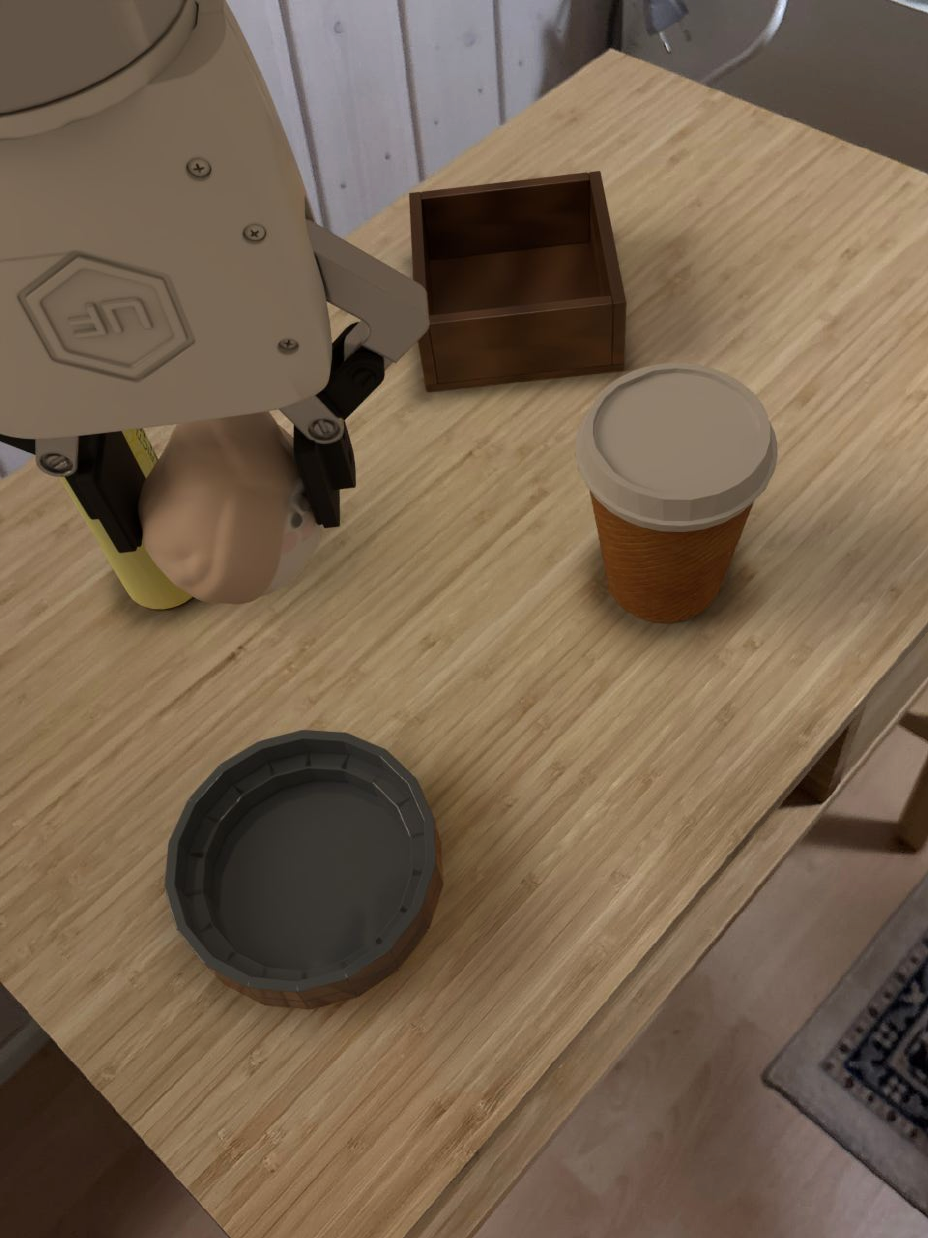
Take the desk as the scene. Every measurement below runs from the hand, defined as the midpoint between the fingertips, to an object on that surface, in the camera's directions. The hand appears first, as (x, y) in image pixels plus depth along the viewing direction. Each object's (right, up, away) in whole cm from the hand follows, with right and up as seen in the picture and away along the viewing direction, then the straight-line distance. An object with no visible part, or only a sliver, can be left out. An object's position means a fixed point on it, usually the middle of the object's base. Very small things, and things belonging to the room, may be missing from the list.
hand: (231, 504), depth 39 cm
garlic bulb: (0, -2, +3) cm, 3 cm away
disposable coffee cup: (+19, -2, +25) cm, 31 cm away
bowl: (+1, -17, +17) cm, 24 cm away
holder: (+11, +16, +37) cm, 42 cm away
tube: (-9, -2, +28) cm, 29 cm away
